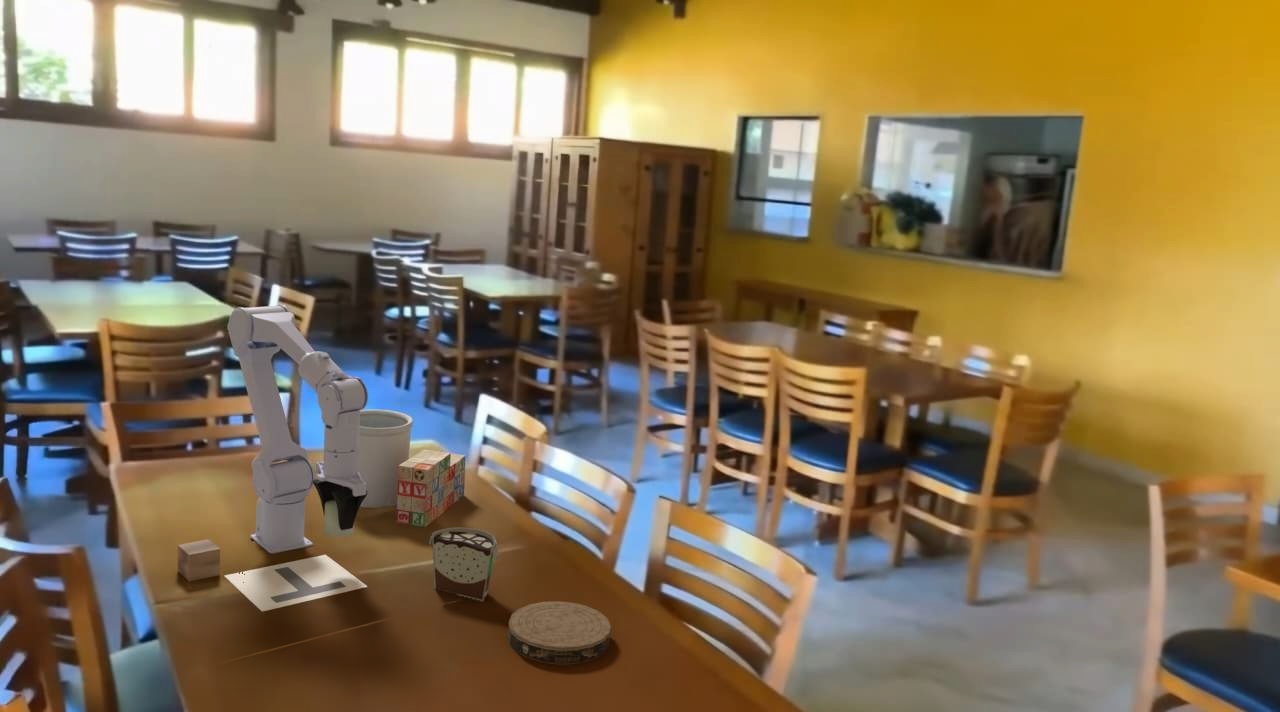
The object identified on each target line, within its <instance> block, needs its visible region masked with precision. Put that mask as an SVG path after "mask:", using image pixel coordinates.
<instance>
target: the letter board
mask: <svg viewBox="0 0 1280 712" xmlns="http://www.w3.org/2000/svg"><path fill="white" fill-rule="evenodd" d="M242 572H243V574H242ZM244 574H245V575H244ZM224 577H225V578H226V579H227V580H228V582H230V583H231V584H232V585H233V586H234V587H236V589H238V590H239V591H240V592H241V593H242V594H243V595H244V596H245V597H246V598H247V599H248V600H249V601H250V602H251V603H253V605H254V606H255V607H256V608H257V609H259V610H260V611H261V612H262V613H263V612H266V611H270V610H275V609H279V608H282V607H288V606H292V605H296V604H299V603H300V604H301V603H304V602H308V601H314V600H317V599H321V598H326V597H329V596H334V595H338V594H342V593H347V592H351V591H355V590H359V589H360V590H361V589H364V588H368V585H366V583H364V582H362V581H361V580H360V579H359V578H357V577H356V576H354V575H353V574H352V573H351V572H350V571H348V570H346V569H345V567H342V566H341V565H340V564H338V562H336V561H334V560H333V559H332V558H331V557H329V556H328V555H327V554H322V555H318V556H312V557H307V558H304V559H303V558H302V559H297V560H293V561H289V562H283V563H279V564H278V563H277V564H275V565H269V566H265V567H264V566H263V567H260V568H255V569H249V570H244V571H240V574H239V572H235V573H230V574H225V575H224ZM243 582H244V583H243Z"/></svg>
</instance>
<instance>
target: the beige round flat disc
mask: <svg viewBox="0 0 1280 712" xmlns="http://www.w3.org/2000/svg"><path fill="white" fill-rule="evenodd" d="M611 627H612V626H611V623H610V621H609V618H608V617H607V616H605V615H604V614H603V613H601V611H599V610H597V609H594V608H592V607H590V606H588V605H584V604H581V603H577V602H576V603H575V602H569V601H561V600H560V601H559V600H557V601H555V600H554V601H541V602H536V603H530V604H527V605H524V606H522V607H519V608H518V609H517V610H515V612H513V613H512V614H511V616H510V618H509V620H508V630H507V631H508V632H507V639H508V643H509V646H510V645H511V646H510V647H511V648H512V649H513V651H515V652H516V653H517V654H519V655H521V656H523V657H525V658H527V659H529V660H533V661H537V662H540V663H545V664H555V665H574V664H581V663H585V662H589V661H590V662H591V661H592V660H594V659H596V658H599V657H601V656H602V655H603V654H604V653H605V652H606V651H607V650H608V649H609V645H610V644H609V643H610V639H611V638H610V635H611V629H612V628H611Z"/></svg>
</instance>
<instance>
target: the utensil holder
mask: <svg viewBox="0 0 1280 712" xmlns="http://www.w3.org/2000/svg"><path fill="white" fill-rule="evenodd" d="M413 421H414V420H413V417H412V416H410V415H408V414H406V413H403V412H400V411H395V410H390V409H376V408H374V409H369V408H368V409H362V410H360V426H359V451H358V472H359V474H360V476H361V478H362V481H363V482H364V483H366V490H367V496H366V497H365V498H364V500H363V502H362V503H361V505H360V507H359V508H369V509H371V508H372V509H380V508H387V507H388V508H389V507H393V506H397V487H398V471H399V465H400V464H402V463H403V462H405V461H407V460H408V459H410V447H411V445H410V444H411V430H412V428H413V423H414V422H413Z"/></svg>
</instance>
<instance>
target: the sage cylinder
mask: <svg viewBox="0 0 1280 712" xmlns="http://www.w3.org/2000/svg"><path fill="white" fill-rule="evenodd" d="M323 519H324V521H323V522H324V524H323V533H324V534H325V535H327V536H330V537H336V538H337V537H347V536H350V535H353V534H354V532H355V524H354V525H353V528H351V529H346V530H341V529H340V527H339V520H338V509H337V505H336V501H335V500H330V501H327V502H326V503H325V517H324V518H323Z"/></svg>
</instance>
